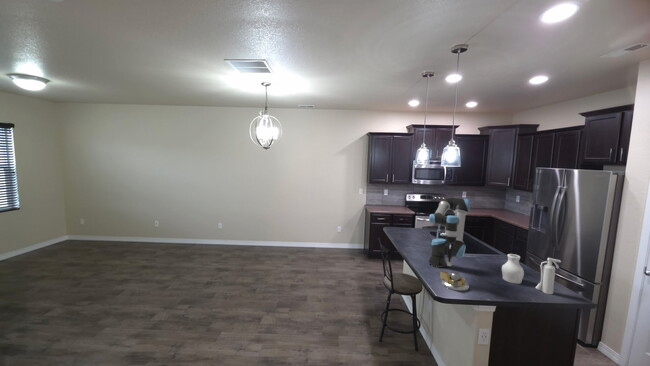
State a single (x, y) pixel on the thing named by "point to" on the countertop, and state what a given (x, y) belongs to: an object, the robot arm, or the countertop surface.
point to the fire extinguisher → (547, 276)
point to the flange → (455, 283)
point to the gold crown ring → (448, 279)
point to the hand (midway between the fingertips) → (449, 265)
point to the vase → (513, 270)
